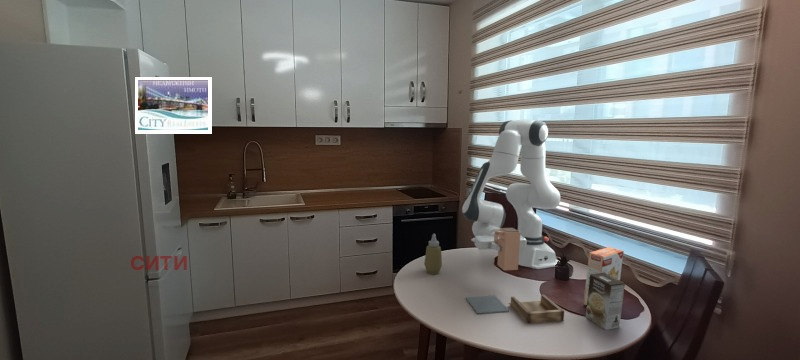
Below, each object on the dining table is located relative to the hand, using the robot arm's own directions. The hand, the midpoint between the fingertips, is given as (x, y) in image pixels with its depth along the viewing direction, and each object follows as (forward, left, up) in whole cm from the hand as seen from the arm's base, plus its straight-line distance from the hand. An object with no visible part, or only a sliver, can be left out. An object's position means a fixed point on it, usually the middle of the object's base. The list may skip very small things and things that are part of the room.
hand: (509, 248), depth 137 cm
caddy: (-7, +9, -21) cm, 24 cm away
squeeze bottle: (+21, -30, -21) cm, 42 cm away
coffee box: (-26, +20, -21) cm, 39 cm away
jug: (+1, 0, -7) cm, 8 cm away
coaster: (+9, +3, -21) cm, 23 cm away
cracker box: (-35, +8, -21) cm, 42 cm away
